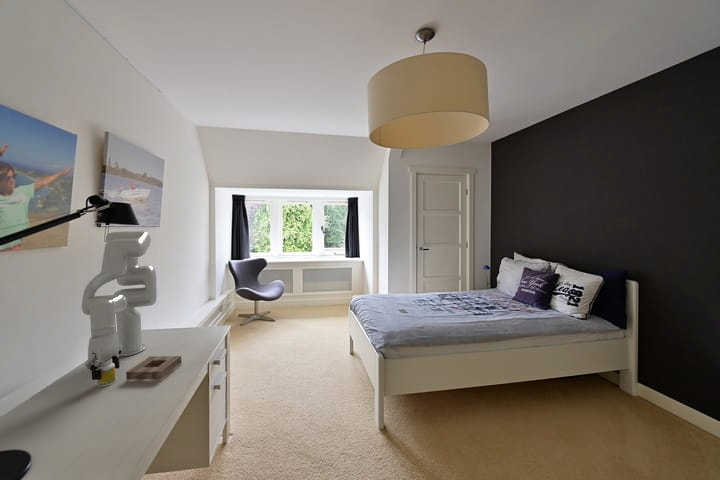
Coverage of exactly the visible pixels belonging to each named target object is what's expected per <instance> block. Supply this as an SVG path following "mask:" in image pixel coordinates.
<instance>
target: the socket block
mask: <svg viewBox="0 0 720 480" xmlns="http://www.w3.org/2000/svg"><path fill="white" fill-rule="evenodd" d="M182 365H183V364H182V355H176V356H175V355H173V356H172V355H171V356H170V355H166V356H164V355H163V356H161V355H159V356H158V355H157V356H156V355H155V356H153V355H152V356H150V355H149V356H148V357H147V358H146V359H144V360H142V361H140V362H139V363H138V364H136V365H135V366H133V367H132V368H130V369H129V370H127V371H126V372H125V375H126V379H125V380H126V382H127V383H128V382H129V383H130V382H131V383H132V382H133V383H134V382H139V383H140V382H162V381H164V380H165V379H166V378H168V377H169V376H170V375H171V374H172V373H173V372H174V371H176V370H177V369H178V368H180V366H182Z"/></svg>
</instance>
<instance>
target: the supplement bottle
mask: <svg viewBox="0 0 720 480" xmlns="http://www.w3.org/2000/svg"><path fill="white" fill-rule="evenodd" d="M100 369H101V376H102V378H101V379H100V380H97V386H98V387H107V386H110V385H113V384H115V382H116V369H115V364H114V363H112V358H109V359H107V360H105V361H104V362H102V364H101V366H100Z"/></svg>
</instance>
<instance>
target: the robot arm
mask: <svg viewBox="0 0 720 480" xmlns="http://www.w3.org/2000/svg"><path fill="white" fill-rule="evenodd" d="M151 239H152V238H151V235H150V233H149V232H147V231H139V230H138V231H112V232H110V233H107V235H106V236H105V240H106V243H105V245H104V251H103V255H102V256H103V257H102V265H101V270H100V272H99V273H98V274H97V275H96V276H94V277H93V278H92V279H91V280H90V281H89V282H88V283H87V285H86V286H85V288H84V291H83V295H82V299H81V311H82V313H83V314H84V315H87V316H89V320H90V322H89V323H90V334H91V335H90V337H89V341H88V344H87V345H88V347H87V360H86V362H84V366H85V367H86V368H87V369H88V370H89V371H91V380H93V381H98V380H100V379H101V378H102V376H101V369H100V366H101V364H102V362H104V361H105V360H107V359H109V358H112V363H114V364H115V370H116V369H120V358H121V357H128V356H132V355H136V354H139V353H141V352H143V351H145V350H146V348H147V345H146V344H145V343H143V340H142V337H143V336H142V319H141V318H142V317H141V313H140V311H138V310H137V309H136V308H141V307H143V308H144V307H150V306H154V305H155V304H156V303H157V297H158V296H157V294H158V293H157V291H158V290H157V289H158V288H157V271H156V270H155V267H153V265H139V258H140V257H143V256H144V255H145V254H146V252H147V251H148V249H149V247H150V245H151V241H152V240H151ZM114 280H116V283H117V284H118V285H119V286H122V287H129V286H133V288H130V287H129V288H123V289H119V290H117V291H115V292H114V293H113V294H108V295H106V294H104V295H97V296H96V292H97V291H98V290H99V289H100V288H101V287H102V286H104V285H105V284H108V283H109V282H113V281H114ZM134 286H144V287H134ZM96 364H97V365H96Z"/></svg>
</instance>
